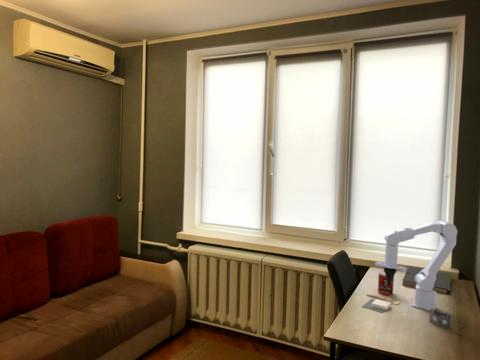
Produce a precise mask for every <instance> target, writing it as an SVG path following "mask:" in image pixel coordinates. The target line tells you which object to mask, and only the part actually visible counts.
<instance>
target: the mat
mask: <svg viewBox="0 0 480 360" xmlns="http://www.w3.org/2000/svg"><path fill="white" fill-rule="evenodd" d="M376 299H377V298H371V299H369V300H368V301H367V302H365V303H364V304H362V305H361V308H364V309H368V310H371V311H374V312H378V313H381V314H383V313H384V312H385V311H386V310H383V309H379V308H376V307H372V303H373V302H374V301H375V300H376Z"/></svg>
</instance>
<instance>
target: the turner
mask: <svg viewBox="0 0 480 360" xmlns="http://www.w3.org/2000/svg"><path fill="white" fill-rule="evenodd" d="M366 296H367V297H371V298H373V299H378V300H382V301H386V302H390V303H391V305H395V306H397V305H399V304H400V303H401V301H400V300H396V299H392V298H389V297H388V298H386V297H382V296H378V295H375V294H371V293H366Z"/></svg>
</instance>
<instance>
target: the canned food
mask: <svg viewBox="0 0 480 360" xmlns="http://www.w3.org/2000/svg"><path fill="white" fill-rule="evenodd" d="M377 280H378V281H377V292H378V293H379V294H380V295H383V296H391V295H393V292H394V284H395V283H394V282H395V276H394V277H393V279H392V283H391V284H389V283H388V282H387V277H386V274H385V272H384V270H380V271H378V279H377Z"/></svg>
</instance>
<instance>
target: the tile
mask: <svg viewBox="0 0 480 360" xmlns="http://www.w3.org/2000/svg"><path fill="white" fill-rule="evenodd" d="M375 299H376V300H375V301H374V302H373V303H372V307H376V308H379V309H383V310H385V311H387V310H388V309H389V308H390V307H391V306H392V304H391V303H390V302H386V301H385V300H381V299H378V298H375Z"/></svg>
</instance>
